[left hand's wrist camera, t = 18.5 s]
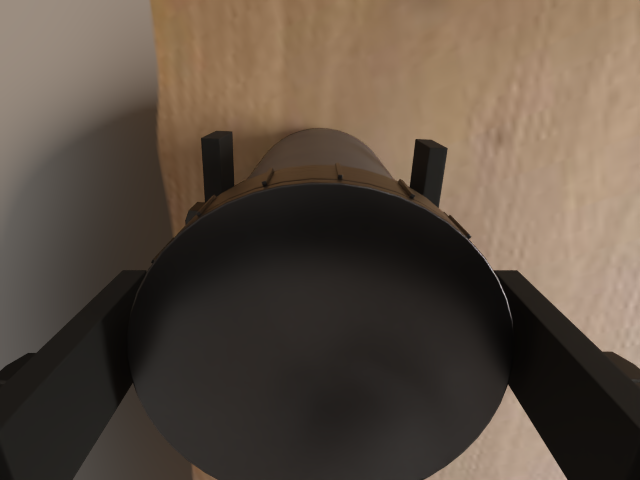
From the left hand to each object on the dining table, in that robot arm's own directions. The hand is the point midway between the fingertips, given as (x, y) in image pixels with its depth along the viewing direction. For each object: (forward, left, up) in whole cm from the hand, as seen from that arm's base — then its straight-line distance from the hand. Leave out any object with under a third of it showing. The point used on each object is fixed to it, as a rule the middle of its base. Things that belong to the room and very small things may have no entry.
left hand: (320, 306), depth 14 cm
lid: (0, 0, +3) cm, 3 cm away
